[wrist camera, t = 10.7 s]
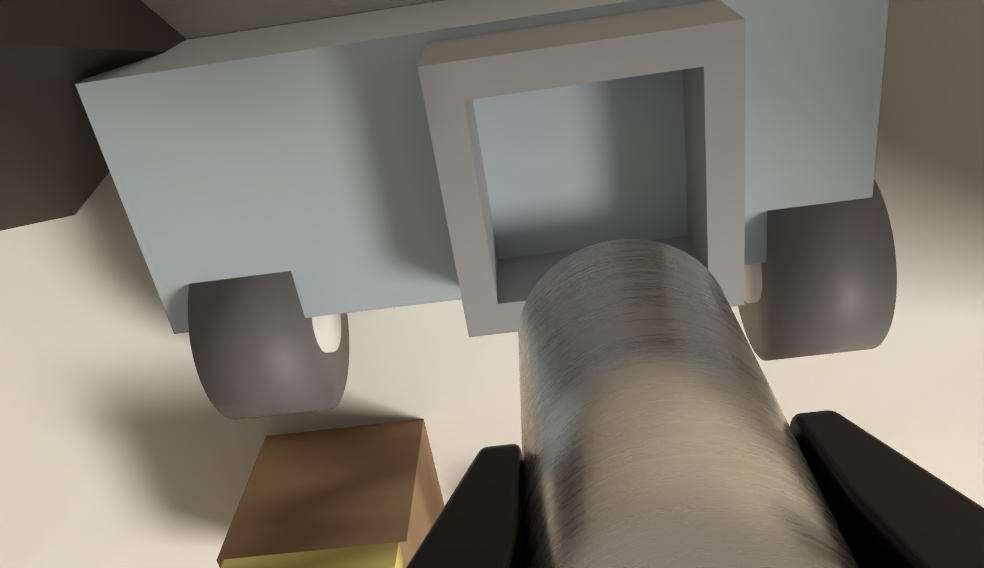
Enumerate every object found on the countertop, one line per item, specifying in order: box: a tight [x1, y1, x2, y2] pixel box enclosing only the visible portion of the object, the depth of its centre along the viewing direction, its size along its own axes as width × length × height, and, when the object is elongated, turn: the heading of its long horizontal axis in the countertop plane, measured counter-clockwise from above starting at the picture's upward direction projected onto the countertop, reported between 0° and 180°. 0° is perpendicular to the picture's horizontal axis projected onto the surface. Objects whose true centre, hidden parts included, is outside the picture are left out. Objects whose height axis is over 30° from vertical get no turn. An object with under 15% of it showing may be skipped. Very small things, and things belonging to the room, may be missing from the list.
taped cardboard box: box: [217, 419, 444, 568], centre depth 23 cm, size 5×5×6 cm
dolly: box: [75, 0, 897, 419], centre depth 18 cm, size 16×9×6 cm, turn 98°
